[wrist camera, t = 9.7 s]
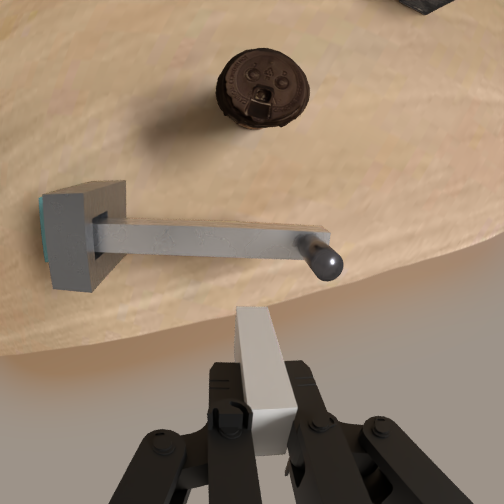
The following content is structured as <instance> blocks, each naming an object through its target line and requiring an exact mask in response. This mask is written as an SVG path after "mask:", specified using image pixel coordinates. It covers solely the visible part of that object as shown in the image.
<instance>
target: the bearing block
mask: <svg viewBox="0 0 504 504" xmlns="http://www.w3.org/2000/svg"><path fill="white" fill-rule="evenodd" d="M42 198H43V215H44V227H45V237H46V246H47V254H48V261H49V268H50V274H51V280H52V285H53V289H59V290H68V291H79V292H90V293H92V292H93V291H94V290H95V289H96V288H97V286H98V285H99V284H100V283H101V282H102V281H103V280H104V278H105V277H106V276H107V275H108V274H109V273H110V272H111V271H112V269H113V268H114V267H115V266H116V265H117V264H118V263H119V262H120V261H121V260H122V258H123V257H124V256H125V255H126V254H127V253H107V252H94V240H93V226H92V218H126V180H120V181H92V182H88V183H84V184H80V185H76V186H72V187H68V188H64V189H61V190H57V191H53V192H50V193H46V194H43V195H42Z"/></svg>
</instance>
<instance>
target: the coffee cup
mask: <svg viewBox="0 0 504 504" xmlns="http://www.w3.org/2000/svg"><path fill="white" fill-rule="evenodd" d="M309 96H310V87H309V84H308V81H307V78H306V75H305V73H304V72H303V71H302V69H301V68H300V67H299V66H298V65H297V64H296V63H295V62H294V61H293V60H292V59H291V58H289V57H288V56H286V55H285V54H283V53H281V52H279V51H276V50H273V49H269V48H257V49H250V50H245V51H243V52H241V53H239V54H237V55H236V56H234V57H233V58H232V59H231V60H230V61H229V62H228V63H227V64H226V66H225V67H224V69H223V71H222V72H221V74H220V75H219V77H218V81H217V86H216V98H217V101H218V105H219V106H220V109H221V110H222V111H223V112H224V115H225V116H228V117H229V118H231V119H232V120H234V121H235V122H236V123H237V124H239V125H241V126H243V127H245V128H248V129H262V128H267V127H276V126H279V127H283V126H285V125H287V124H288V123H289V122H291V121H292V120H294V119H296V118H297V117H298V116H299V115H301V113H302V112H303V111H304V109H305V108H306V106H307V103H308V101H309Z"/></svg>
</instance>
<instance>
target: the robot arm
mask: <svg viewBox="0 0 504 504" xmlns="http://www.w3.org/2000/svg"><path fill="white" fill-rule="evenodd" d="M234 343H235V344H234V358H235V363H222V362H216V363H214V365H213V366H212V368H211V369H210V373H209V409H208V413H207V416H208V417H207V418H208V422H207V423H206V425H205V426H204V427H203V428H202V429H201V430H199V431H197V432H194V433H191V434H186V435H181V436H180V435H179V434H178V433H176V432H174V431H171V430H165V429H160V430H154V431H152V432H150V433H148V434H147V435H146V436H145V437H144V438H143V440H142V442H141V444H140V445H139V448H138V449H137V451H136V453H135V455H134V457H133V458H132V460H131V462H130V464H129V466H128V468H127V470H126V472H125V474H124V475H123V478H122V480H121V481H120V483H119V485H118V487H117V489H116V491H115V492H114V494H113V496H112V498H111V500H110V502H109V504H186V503H187V500H188V497H189V494H190V491H191V489H192V488H196V487H200V486H204V485H208V484H209V504H262V500H261V493H260V487H259V480H258V473H257V467H256V459H255V456H268V455H280V454H281V455H282V454H285V453H286V450H287V448H288V451H289V456H290V457H289V461H288V463H287V466H286V470H285V476H287V475H288V474H289V473H290V478H291V483H292V487H293V491H294V495H295V500H296V504H473V503H472V502H471V500H470V499H468V497H467V496H466V495H464V493H462V491H460V490H459V488H458V487H457V486H456V485H455V484H454V483H453V482H452V481H451V480H450V479H449V478H448V477H447V476H446V475H445V474H444V473H443V472H442V471H441V470H440V469H439V468H438V467H437V466H436V465H435V464H434V463H433V462H432V460H431V459H430V458H428V456H427V455H426V454H425V453H424V452H423V451H422V450H421V449H420V448H419V447H418V446H417V445H416V444H415V443H414V442H413V441H412V440H411V439H410V438H409V437H408V435H407V434H406V433H405V432H404V431H403V430H402V429H401V428H400V427H399V426H398V425H397V424H396V423H395V422H394V421H392V420H391V419H389V418H386V417H384V416H383V417H381V416H375V417H371V418H369V419H368V420H366V421H365V423H364V425H357V424H347V423H342V422H340V421H338V420H337V418H336V417H335V416H334V415H332V414H331V413H329V412H327V410H326V407H325V405H324V402H323V400H322V397H321V395H320V392H319V390H318V387H317V385H316V382H315V380H314V378H313V375H312V372H311V370H310V368H309V367H308V366H307V365H306V364H305V363H304V362H303V361H302V360H299V361H283V357H282V354H281V350H280V347H279V343H278V340H277V337H276V333H275V330H274V327H273V323H272V320H271V317H270V313H269V310H268V307H240V306H236V320H235V341H234Z"/></svg>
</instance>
